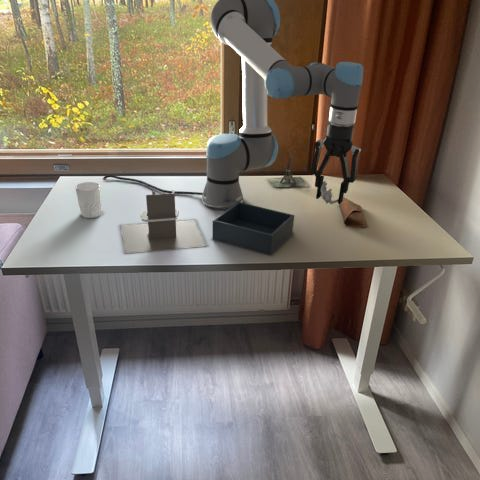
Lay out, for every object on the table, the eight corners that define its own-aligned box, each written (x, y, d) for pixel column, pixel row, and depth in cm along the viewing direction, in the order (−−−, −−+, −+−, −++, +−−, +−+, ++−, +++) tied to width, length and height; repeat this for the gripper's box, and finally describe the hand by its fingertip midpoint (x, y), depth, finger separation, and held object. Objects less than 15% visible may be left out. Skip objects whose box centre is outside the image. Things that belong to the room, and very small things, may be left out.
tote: (212, 239, 162) (212, 220, 158) (237, 219, 175) (238, 201, 171) (270, 255, 155) (272, 235, 151) (292, 233, 168) (294, 215, 164)
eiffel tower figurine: (300, 177, 211) (304, 145, 203) (309, 186, 203) (313, 153, 195) (266, 179, 208) (268, 146, 200) (273, 188, 200) (276, 154, 192)
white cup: (107, 212, 176) (104, 184, 170) (93, 220, 170) (89, 192, 164) (89, 207, 179) (85, 180, 173) (74, 215, 173) (70, 187, 167)
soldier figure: (337, 197, 163) (345, 200, 151) (325, 207, 164) (332, 211, 152) (322, 178, 161) (329, 180, 149) (310, 188, 162) (316, 191, 150)
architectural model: (120, 225, 168) (115, 183, 159) (194, 219, 174) (193, 178, 165) (125, 253, 152) (120, 207, 144) (206, 246, 158) (206, 201, 150)
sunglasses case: (368, 226, 173) (361, 210, 170) (349, 235, 175) (342, 219, 172) (360, 205, 188) (354, 190, 184) (343, 214, 190) (336, 199, 187)
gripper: (304, 120, 144) (296, 197, 158) (371, 132, 138) (355, 211, 151) (313, 115, 150) (304, 189, 163) (378, 125, 143) (362, 202, 157)
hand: (329, 199), depth 157 cm, fingers closed on soldier figure, 6 cm apart
